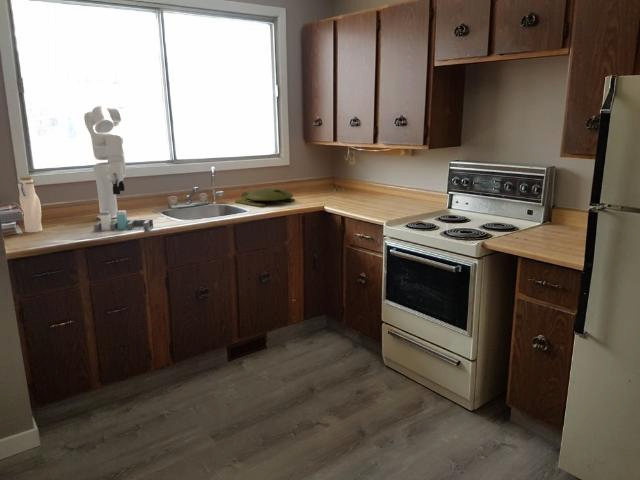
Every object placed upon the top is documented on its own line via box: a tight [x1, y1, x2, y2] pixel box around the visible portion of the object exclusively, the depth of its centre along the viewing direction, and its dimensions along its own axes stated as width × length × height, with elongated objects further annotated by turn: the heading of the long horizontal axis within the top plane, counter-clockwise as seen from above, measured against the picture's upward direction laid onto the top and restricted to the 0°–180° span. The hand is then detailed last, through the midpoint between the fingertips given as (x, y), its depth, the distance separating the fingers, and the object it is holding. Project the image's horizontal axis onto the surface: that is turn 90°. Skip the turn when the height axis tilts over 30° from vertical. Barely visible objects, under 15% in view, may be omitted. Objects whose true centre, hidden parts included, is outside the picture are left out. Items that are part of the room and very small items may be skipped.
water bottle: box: [17, 176, 43, 233], centre depth 261 cm, size 10×9×28 cm
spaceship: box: [234, 187, 296, 208], centre depth 339 cm, size 35×31×10 cm
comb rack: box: [91, 218, 154, 233], centre depth 264 cm, size 12×28×4 cm, turn 98°
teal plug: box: [116, 209, 128, 229], centre depth 263 cm, size 4×4×9 cm
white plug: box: [99, 211, 112, 230], centre depth 262 cm, size 4×4×9 cm
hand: (119, 192), depth 260 cm, fingers open, 9 cm apart
